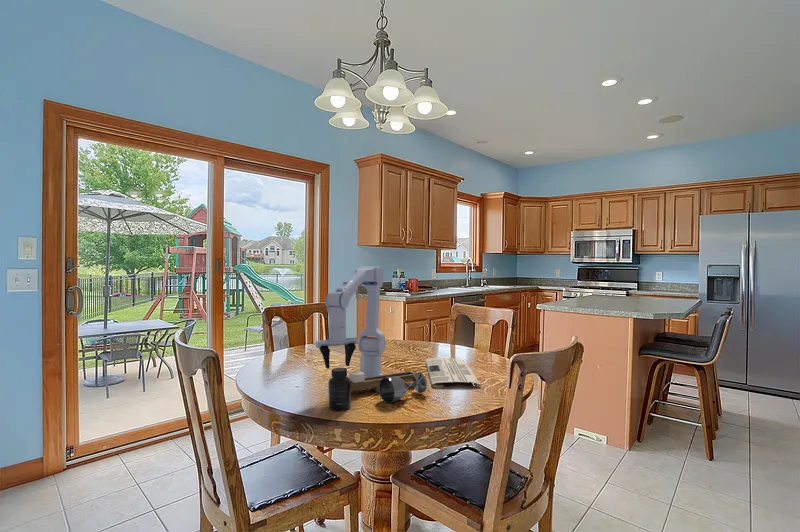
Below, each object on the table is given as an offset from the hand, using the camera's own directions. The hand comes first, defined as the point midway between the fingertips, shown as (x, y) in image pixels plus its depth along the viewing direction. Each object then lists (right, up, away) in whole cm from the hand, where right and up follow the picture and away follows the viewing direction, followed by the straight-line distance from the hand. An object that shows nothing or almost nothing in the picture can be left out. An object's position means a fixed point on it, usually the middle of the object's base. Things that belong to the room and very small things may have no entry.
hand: (337, 366), depth 137 cm
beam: (+14, -10, +7) cm, 19 cm away
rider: (+6, -7, +3) cm, 10 cm away
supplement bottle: (+2, -10, -11) cm, 15 cm away
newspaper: (+42, -11, +27) cm, 52 cm away
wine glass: (+28, -6, +3) cm, 29 cm away
